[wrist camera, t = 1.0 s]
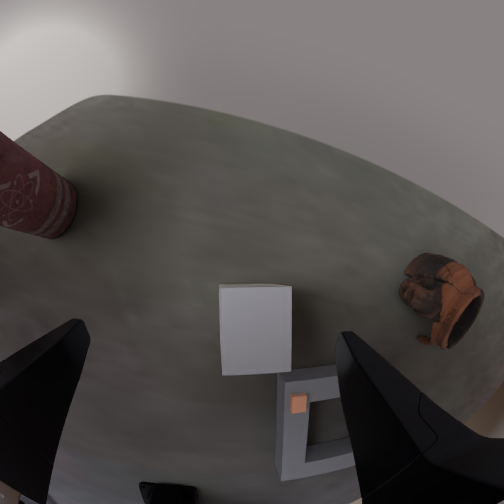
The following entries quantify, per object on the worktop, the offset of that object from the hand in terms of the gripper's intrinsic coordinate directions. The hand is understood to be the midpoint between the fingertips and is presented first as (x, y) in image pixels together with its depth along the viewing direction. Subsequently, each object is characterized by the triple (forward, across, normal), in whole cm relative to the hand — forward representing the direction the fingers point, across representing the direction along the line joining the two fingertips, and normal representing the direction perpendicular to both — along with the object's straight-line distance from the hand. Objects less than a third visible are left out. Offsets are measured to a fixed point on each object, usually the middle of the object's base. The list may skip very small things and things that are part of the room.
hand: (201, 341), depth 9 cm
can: (+15, +18, 0) cm, 24 cm away
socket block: (+8, -9, +19) cm, 22 cm away
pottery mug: (+15, -20, +10) cm, 27 cm away
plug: (+12, -1, +9) cm, 15 cm away
